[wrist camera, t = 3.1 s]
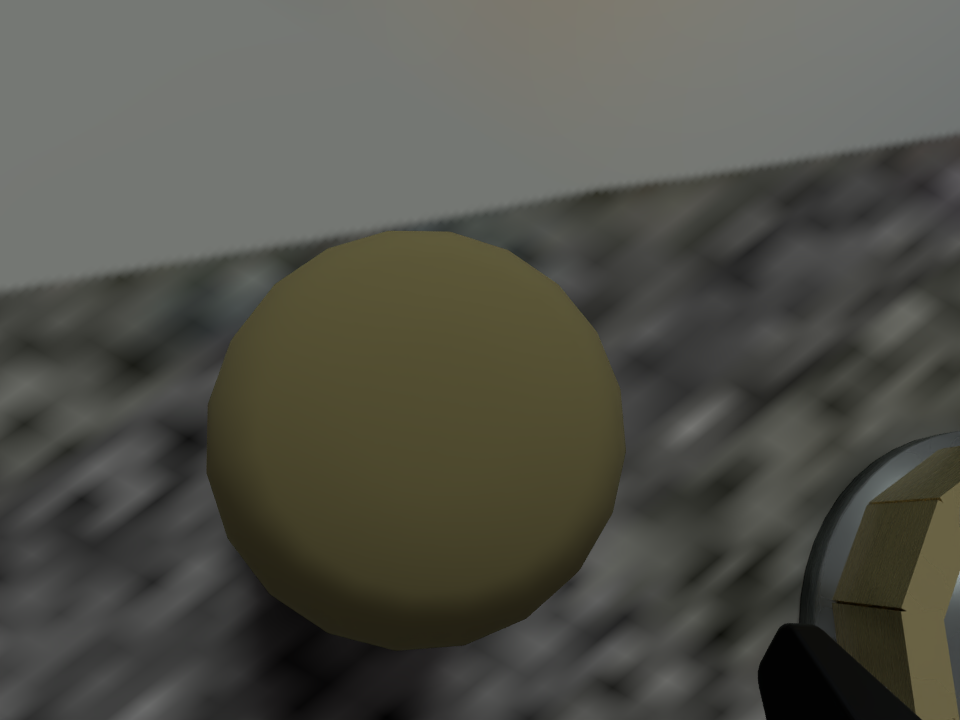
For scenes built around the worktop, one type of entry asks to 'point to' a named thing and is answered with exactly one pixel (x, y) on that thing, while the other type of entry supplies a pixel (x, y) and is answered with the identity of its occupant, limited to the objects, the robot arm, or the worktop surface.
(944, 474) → the collar socket
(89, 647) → the worktop surface
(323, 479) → the cork
